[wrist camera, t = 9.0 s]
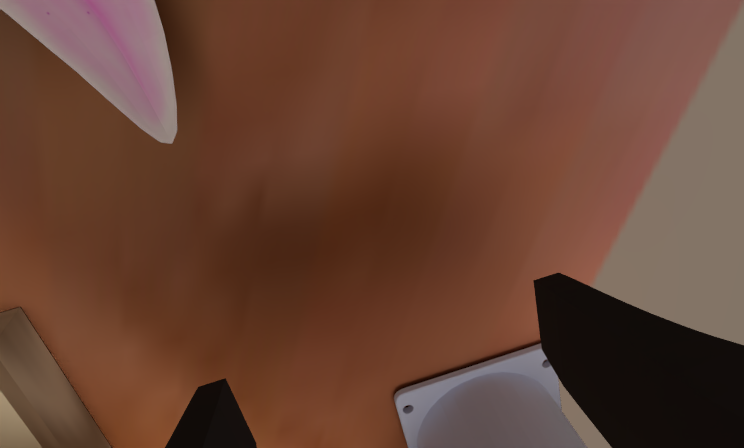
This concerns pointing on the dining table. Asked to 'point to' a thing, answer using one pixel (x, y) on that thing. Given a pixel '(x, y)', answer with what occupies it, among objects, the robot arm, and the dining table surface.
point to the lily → (110, 53)
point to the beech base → (38, 394)
